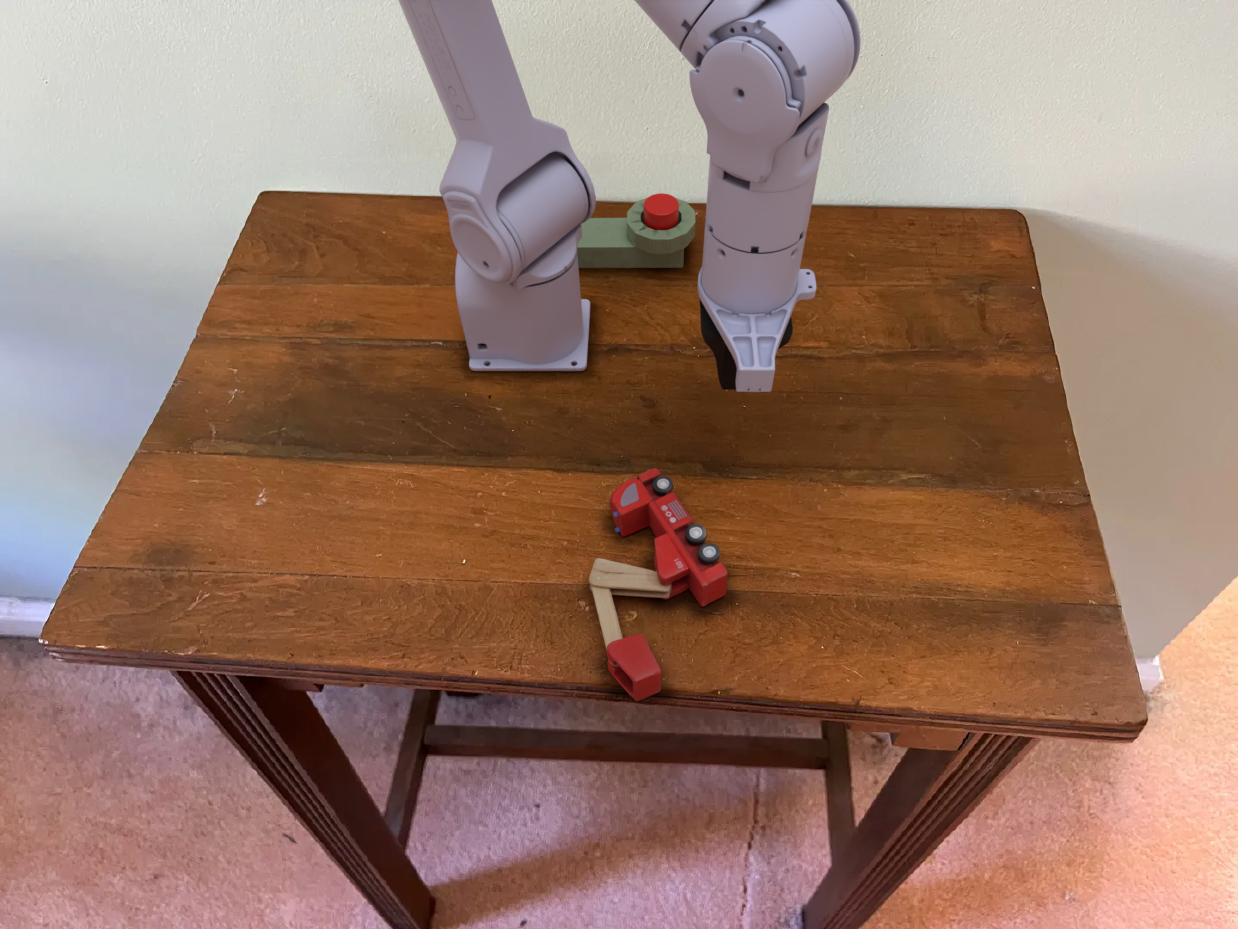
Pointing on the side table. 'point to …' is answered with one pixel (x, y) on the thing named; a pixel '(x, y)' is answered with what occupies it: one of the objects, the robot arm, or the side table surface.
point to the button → (661, 211)
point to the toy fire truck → (652, 573)
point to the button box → (635, 241)
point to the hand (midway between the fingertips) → (735, 382)
